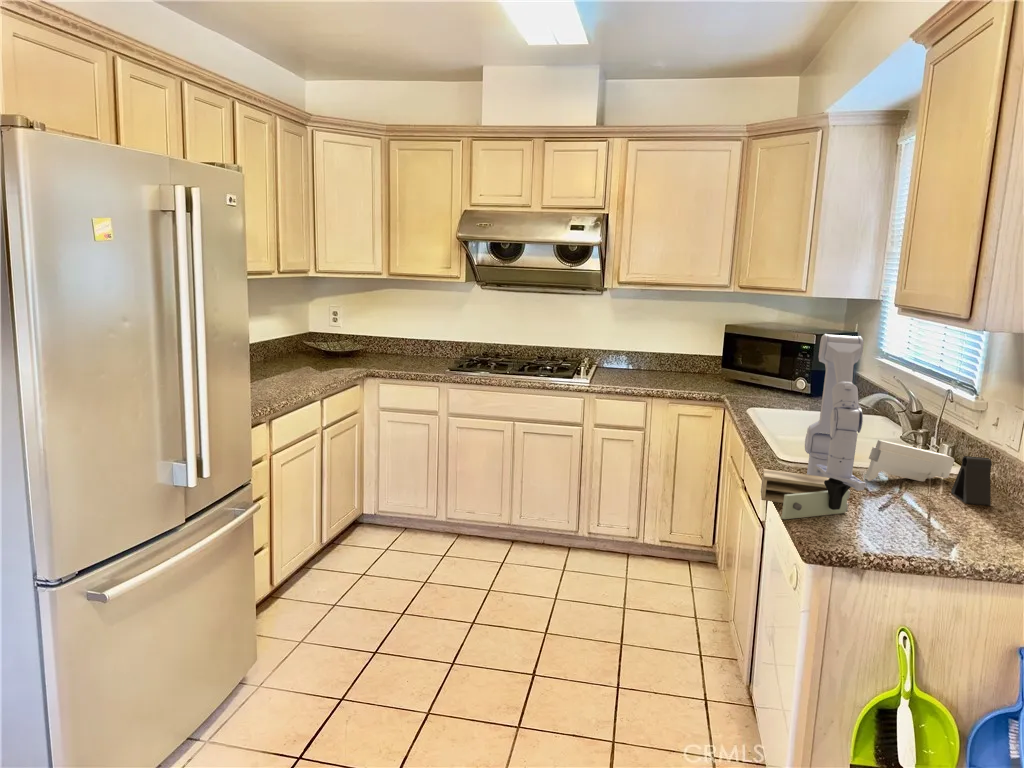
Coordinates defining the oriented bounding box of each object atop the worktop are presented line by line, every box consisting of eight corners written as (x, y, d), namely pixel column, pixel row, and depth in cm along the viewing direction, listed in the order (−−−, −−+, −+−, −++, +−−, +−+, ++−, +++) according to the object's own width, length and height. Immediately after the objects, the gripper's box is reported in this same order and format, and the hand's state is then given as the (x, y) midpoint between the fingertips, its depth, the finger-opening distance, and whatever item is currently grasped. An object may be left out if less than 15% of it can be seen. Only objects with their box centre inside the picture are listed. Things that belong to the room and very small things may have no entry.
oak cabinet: (760, 491, 183) (763, 468, 182) (840, 502, 177) (843, 479, 176) (761, 499, 177) (764, 476, 175) (844, 511, 170) (847, 487, 169)
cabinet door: (781, 517, 164) (784, 494, 163) (845, 510, 170) (848, 488, 169) (787, 521, 162) (790, 497, 161) (851, 514, 168) (855, 491, 167)
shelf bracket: (859, 477, 200) (873, 437, 198) (930, 492, 204) (943, 453, 202) (872, 483, 194) (886, 443, 192) (943, 498, 199) (958, 459, 197)
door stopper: (990, 506, 179) (998, 463, 177) (965, 503, 180) (973, 461, 178) (974, 494, 188) (981, 453, 185) (950, 492, 189) (957, 452, 186)
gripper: (807, 448, 169) (800, 499, 172) (850, 465, 155) (843, 520, 158) (829, 447, 171) (823, 497, 174) (874, 464, 157) (867, 518, 160)
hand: (834, 508), depth 166 cm, fingers closed
